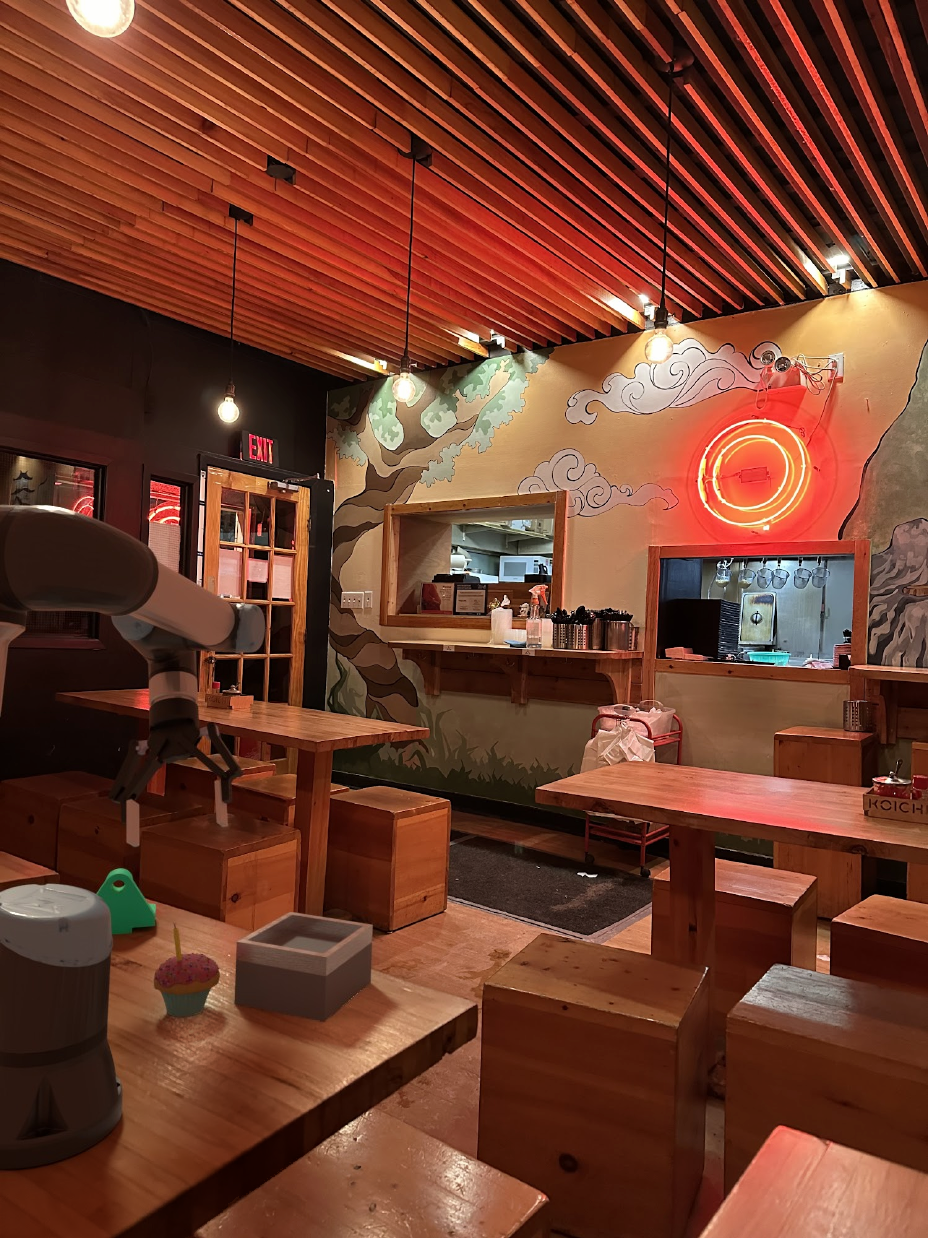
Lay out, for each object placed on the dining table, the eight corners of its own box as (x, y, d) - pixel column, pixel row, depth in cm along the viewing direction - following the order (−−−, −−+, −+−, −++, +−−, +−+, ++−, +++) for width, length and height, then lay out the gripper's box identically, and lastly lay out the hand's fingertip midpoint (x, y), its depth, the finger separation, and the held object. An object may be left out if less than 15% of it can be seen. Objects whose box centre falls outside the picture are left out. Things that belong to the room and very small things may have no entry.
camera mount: (155, 918, 152) (157, 860, 152) (154, 932, 144) (156, 871, 145) (81, 923, 148) (84, 864, 148) (77, 938, 140) (79, 876, 141)
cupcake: (167, 1029, 109) (171, 935, 109) (141, 1007, 115) (145, 918, 116) (229, 1011, 115) (232, 922, 115) (201, 991, 121) (204, 906, 121)
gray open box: (324, 1022, 112) (326, 976, 113) (234, 1003, 117) (236, 960, 117) (370, 982, 126) (372, 942, 126) (288, 967, 130) (289, 928, 130)
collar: (326, 976, 113) (326, 957, 113) (236, 960, 117) (236, 941, 117) (372, 942, 126) (372, 924, 126) (289, 928, 130) (290, 912, 131)
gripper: (256, 698, 140) (267, 823, 130) (108, 730, 140) (107, 858, 130) (242, 679, 134) (251, 809, 124) (86, 713, 134) (83, 846, 123)
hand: (177, 834), depth 127 cm, fingers open, 13 cm apart
